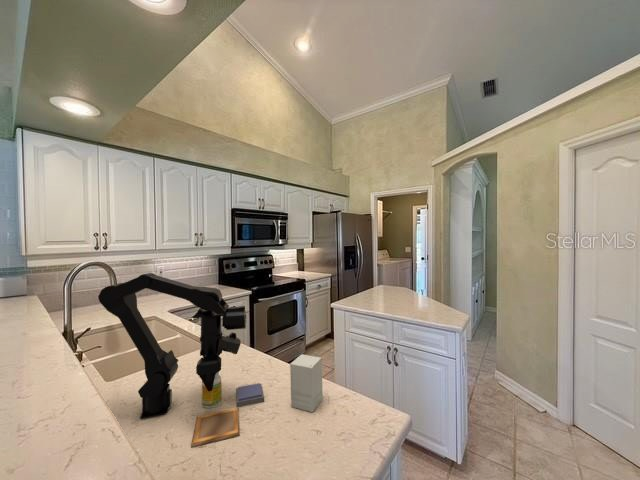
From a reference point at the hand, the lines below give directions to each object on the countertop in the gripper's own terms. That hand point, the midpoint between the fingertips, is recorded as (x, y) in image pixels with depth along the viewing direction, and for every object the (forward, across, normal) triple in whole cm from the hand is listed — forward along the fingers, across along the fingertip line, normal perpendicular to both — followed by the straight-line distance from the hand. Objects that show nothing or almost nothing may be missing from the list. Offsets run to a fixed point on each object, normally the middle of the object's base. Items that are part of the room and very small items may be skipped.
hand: (211, 382), depth 78 cm
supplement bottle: (+6, 0, 0) cm, 6 cm away
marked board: (+6, -12, -2) cm, 13 cm away
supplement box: (+6, -10, -27) cm, 30 cm away
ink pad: (+6, -1, -11) cm, 13 cm away
